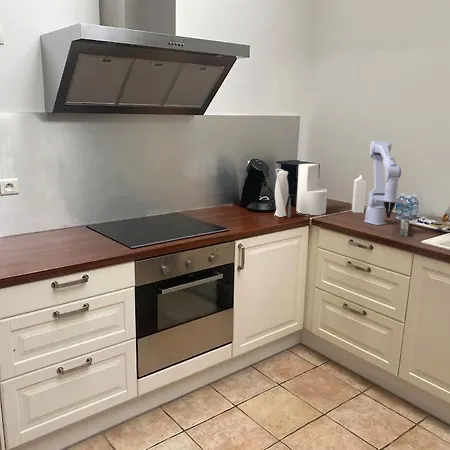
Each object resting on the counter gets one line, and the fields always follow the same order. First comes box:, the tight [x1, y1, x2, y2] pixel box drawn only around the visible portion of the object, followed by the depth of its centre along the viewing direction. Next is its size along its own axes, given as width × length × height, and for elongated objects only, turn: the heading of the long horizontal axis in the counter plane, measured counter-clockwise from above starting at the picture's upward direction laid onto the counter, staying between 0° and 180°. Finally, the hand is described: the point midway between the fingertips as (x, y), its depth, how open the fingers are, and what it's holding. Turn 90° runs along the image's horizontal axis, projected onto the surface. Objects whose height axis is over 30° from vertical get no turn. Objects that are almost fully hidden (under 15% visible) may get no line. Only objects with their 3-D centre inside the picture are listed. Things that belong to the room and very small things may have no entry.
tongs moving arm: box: [399, 222, 407, 237], centre depth 232 cm, size 21×3×2 cm, turn 159°
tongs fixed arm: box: [399, 218, 410, 237], centre depth 234 cm, size 24×4×3 cm, turn 159°
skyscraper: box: [274, 168, 292, 218], centre depth 256 cm, size 8×8×28 cm
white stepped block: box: [296, 163, 328, 216], centre depth 269 cm, size 17×17×28 cm
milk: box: [351, 174, 368, 214], centre depth 273 cm, size 6×6×22 cm
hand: (388, 217), depth 229 cm, fingers closed
